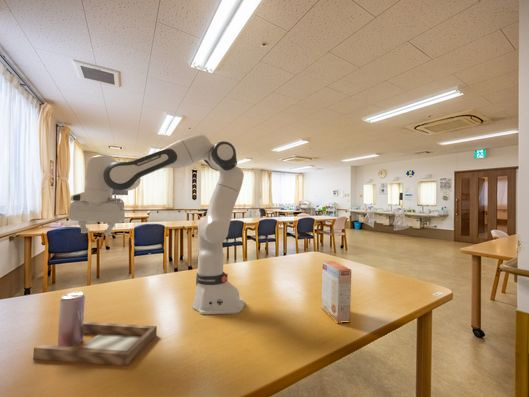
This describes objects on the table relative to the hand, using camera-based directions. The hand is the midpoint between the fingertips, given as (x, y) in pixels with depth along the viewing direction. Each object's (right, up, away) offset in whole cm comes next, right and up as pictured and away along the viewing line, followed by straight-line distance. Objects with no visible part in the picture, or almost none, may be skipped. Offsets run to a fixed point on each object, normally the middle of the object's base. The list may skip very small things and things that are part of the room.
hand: (96, 233), depth 90 cm
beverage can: (+4, -32, -17) cm, 36 cm away
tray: (+13, -32, -17) cm, 39 cm away
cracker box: (+94, -35, +8) cm, 100 cm away
